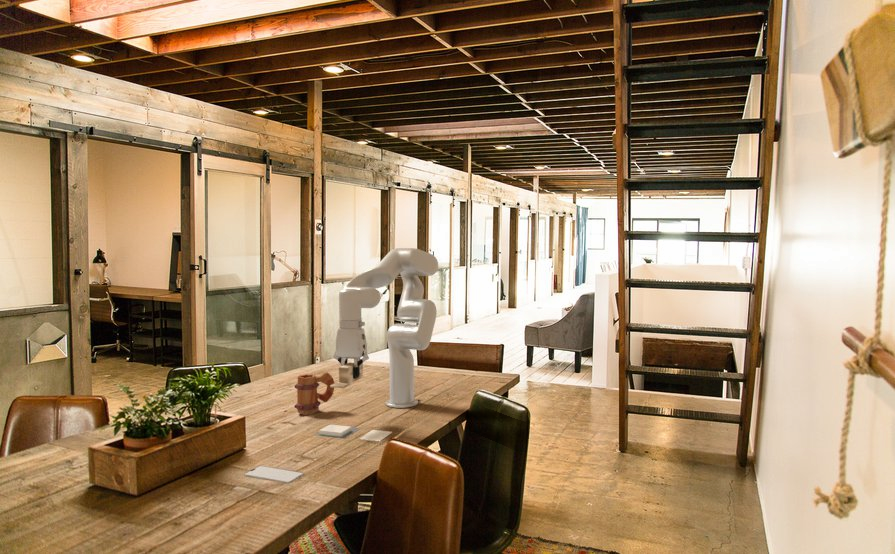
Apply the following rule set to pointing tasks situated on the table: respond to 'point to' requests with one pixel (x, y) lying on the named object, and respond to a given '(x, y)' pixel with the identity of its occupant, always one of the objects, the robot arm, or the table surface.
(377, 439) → the pad
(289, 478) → the smartphone
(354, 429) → the mat
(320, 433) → the tile
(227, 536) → the table surface
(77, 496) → the table surface
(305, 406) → the mug
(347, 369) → the beige piece
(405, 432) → the table surface
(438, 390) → the table surface
